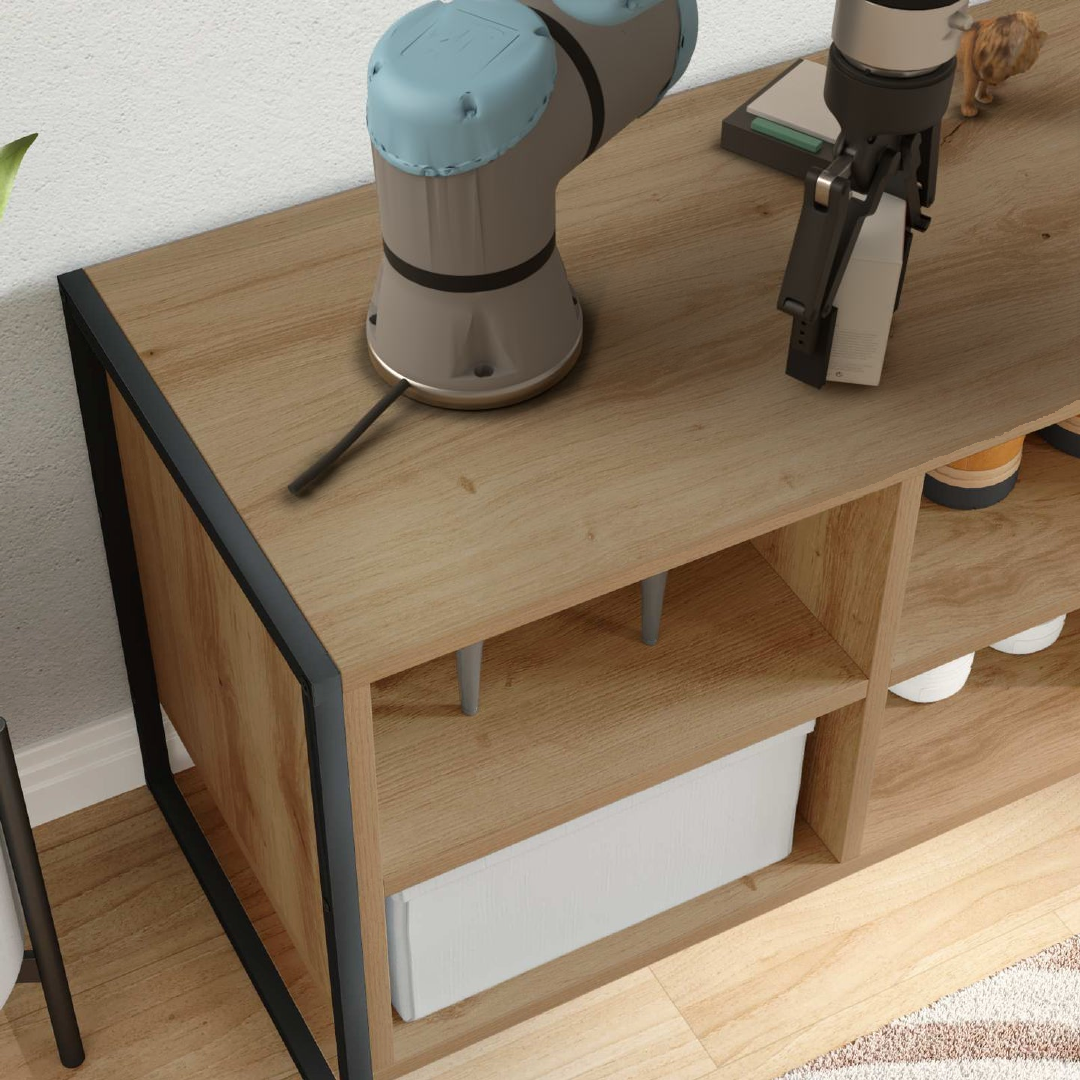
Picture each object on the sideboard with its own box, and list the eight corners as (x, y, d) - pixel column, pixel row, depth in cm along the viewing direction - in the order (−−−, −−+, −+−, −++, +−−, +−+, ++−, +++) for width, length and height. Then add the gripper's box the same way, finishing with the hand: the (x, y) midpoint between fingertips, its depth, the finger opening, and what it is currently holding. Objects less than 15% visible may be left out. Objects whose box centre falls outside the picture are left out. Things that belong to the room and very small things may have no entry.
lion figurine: (1040, 111, 131) (1065, 10, 125) (1003, 135, 129) (1026, 34, 122) (898, 47, 139) (914, -50, 132) (860, 70, 136) (875, -29, 130)
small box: (878, 389, 107) (903, 264, 99) (795, 379, 108) (814, 253, 100) (885, 316, 112) (909, 191, 104) (806, 306, 113) (824, 181, 105)
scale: (837, 192, 124) (842, 158, 121) (720, 147, 128) (722, 113, 126) (911, 125, 130) (917, 92, 128) (796, 84, 135) (800, 51, 133)
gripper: (856, 152, 85) (807, 451, 102) (1035, -9, 97) (965, 282, 114) (739, 107, 89) (710, 403, 105) (926, -44, 100) (873, 244, 117)
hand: (842, 340), depth 109 cm, fingers closed on small box, 9 cm apart
